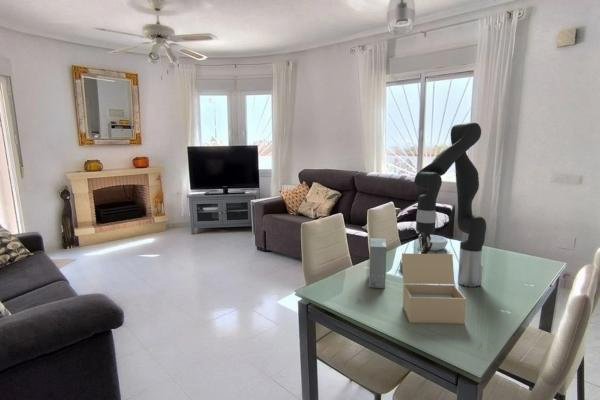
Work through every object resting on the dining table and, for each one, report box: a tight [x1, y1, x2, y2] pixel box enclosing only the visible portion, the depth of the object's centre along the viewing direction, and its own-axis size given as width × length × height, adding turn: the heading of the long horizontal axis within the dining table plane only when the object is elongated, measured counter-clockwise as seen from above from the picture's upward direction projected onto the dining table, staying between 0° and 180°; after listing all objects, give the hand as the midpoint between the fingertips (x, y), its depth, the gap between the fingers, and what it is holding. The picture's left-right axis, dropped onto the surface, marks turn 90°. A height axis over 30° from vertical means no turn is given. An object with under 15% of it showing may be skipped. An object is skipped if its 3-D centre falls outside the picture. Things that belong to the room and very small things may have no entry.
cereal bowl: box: [430, 234, 448, 252], centre depth 215 cm, size 17×17×7 cm
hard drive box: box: [368, 237, 387, 289], centre depth 164 cm, size 16×8×20 cm, turn 168°
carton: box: [402, 283, 467, 325], centre depth 132 cm, size 20×12×10 cm, turn 85°
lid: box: [401, 253, 455, 285], centre depth 139 cm, size 20×12×1 cm
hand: (423, 260), depth 144 cm, fingers closed
